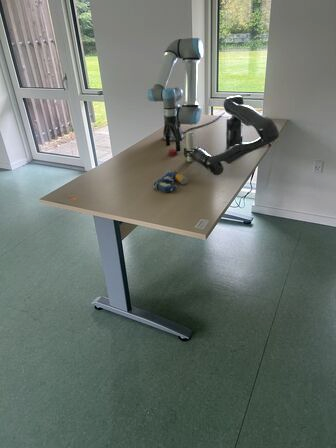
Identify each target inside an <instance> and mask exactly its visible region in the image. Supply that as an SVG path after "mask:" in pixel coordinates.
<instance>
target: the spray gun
mask: <svg viewBox="0 0 336 448" xmlns="http://www.w3.org/2000/svg"><path fill="white" fill-rule="evenodd" d="M175 181H176V182H177V183H179V184H180V185H185V184H186V183H187V182H188V178H187V177H186V176H185V175H183V174H181V173H177V171H176V170H173V171H169V170H166V171H165V173H164V174H162V175H161V177H159V178H158V179H157V180H156V181H154V183H153V186H152V188H153V189H155V190H157V191H158V190H160V191H162V192H164V193H170V192H174V191H175V190H176V189H177V184H175V183H174V182H175Z"/></svg>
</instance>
